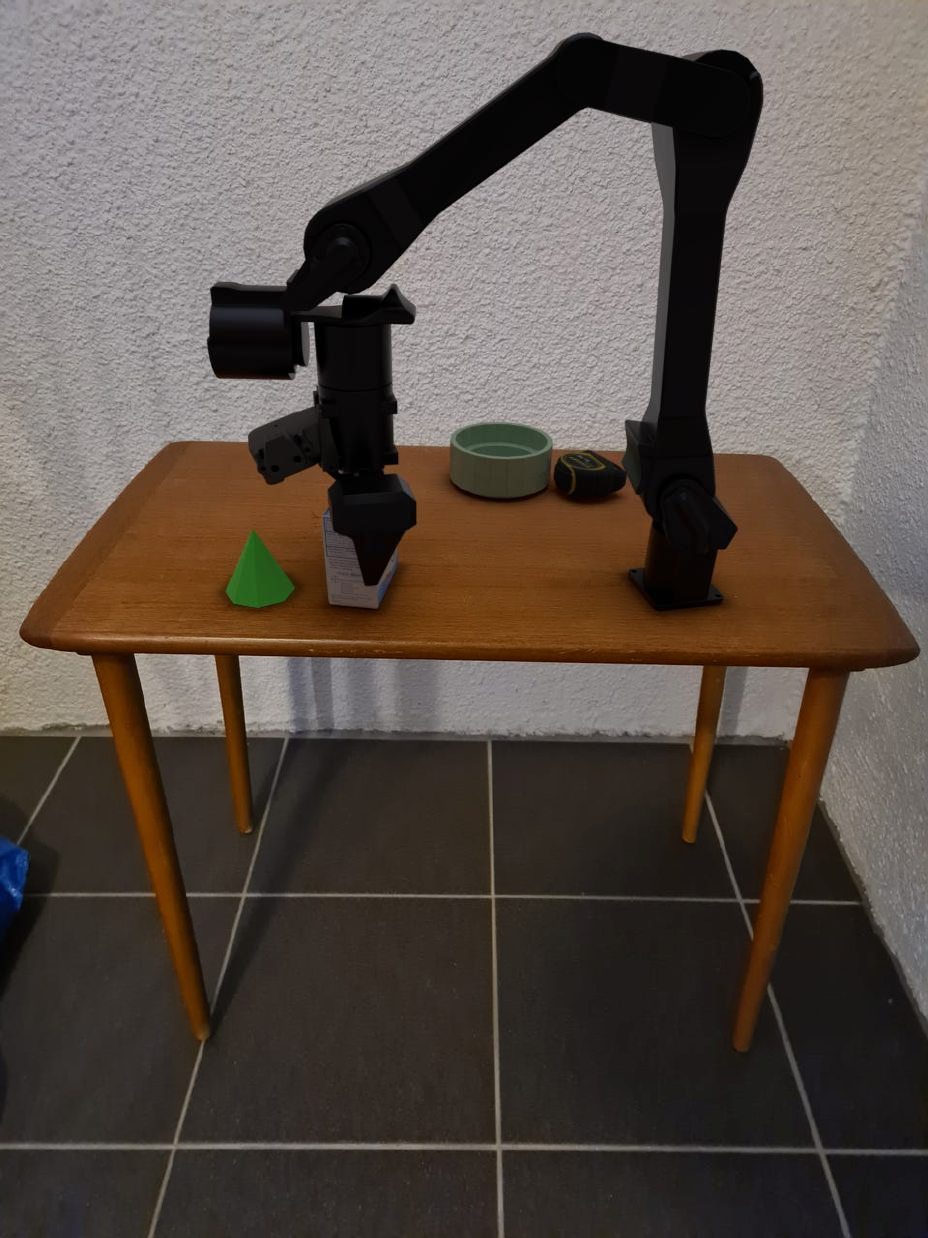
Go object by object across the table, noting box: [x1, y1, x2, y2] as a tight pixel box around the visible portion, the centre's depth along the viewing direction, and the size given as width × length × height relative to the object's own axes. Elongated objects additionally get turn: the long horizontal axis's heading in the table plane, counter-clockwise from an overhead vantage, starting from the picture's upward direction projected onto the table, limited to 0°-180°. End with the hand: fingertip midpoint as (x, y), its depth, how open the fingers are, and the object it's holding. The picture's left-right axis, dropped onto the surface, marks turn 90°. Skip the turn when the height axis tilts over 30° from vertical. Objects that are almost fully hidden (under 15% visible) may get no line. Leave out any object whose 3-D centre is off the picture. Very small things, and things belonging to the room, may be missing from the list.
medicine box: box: [321, 506, 399, 610], centre depth 71 cm, size 8×4×9 cm, turn 171°
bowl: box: [449, 421, 554, 499], centre depth 92 cm, size 11×11×5 cm
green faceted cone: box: [225, 528, 296, 609], centre depth 71 cm, size 6×6×6 cm
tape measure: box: [552, 449, 628, 499], centre depth 90 cm, size 7×7×4 cm
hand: (363, 558), depth 72 cm, fingers closed on medicine box, 9 cm apart
